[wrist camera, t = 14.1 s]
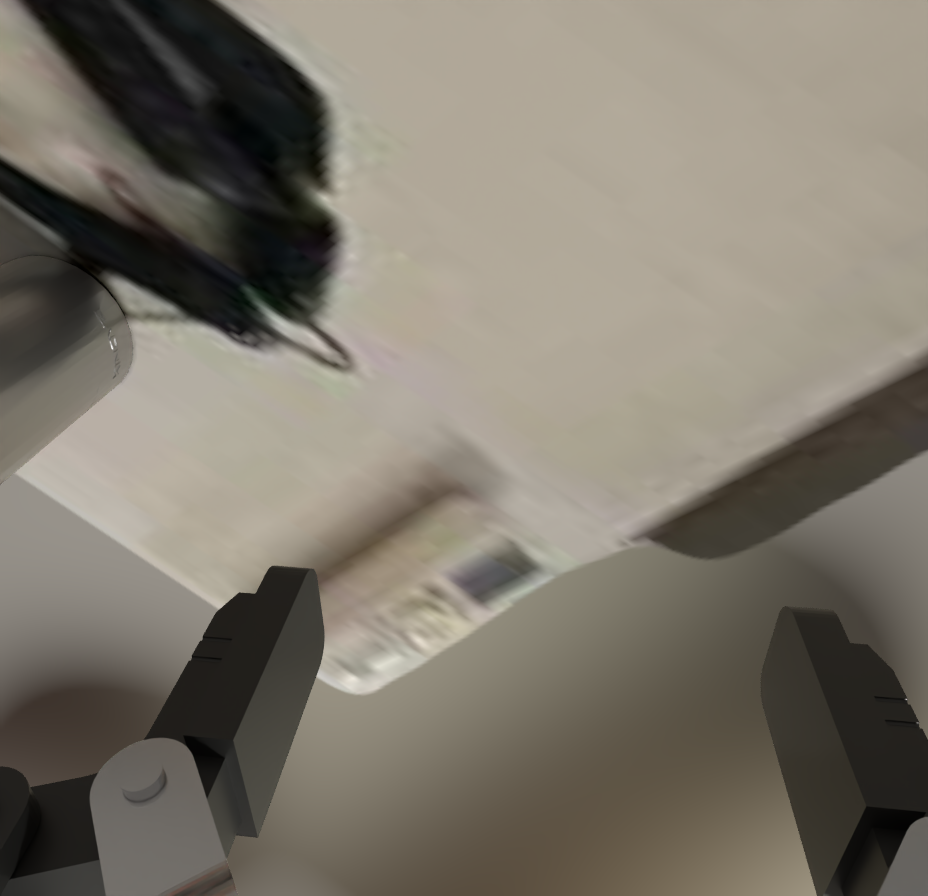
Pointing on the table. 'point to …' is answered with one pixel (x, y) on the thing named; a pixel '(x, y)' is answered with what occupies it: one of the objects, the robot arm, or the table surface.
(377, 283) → the table surface
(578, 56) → the table surface
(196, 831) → the robot arm
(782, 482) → the table surface
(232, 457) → the table surface
